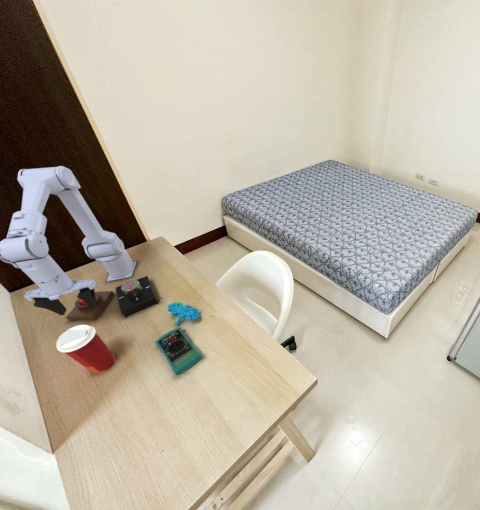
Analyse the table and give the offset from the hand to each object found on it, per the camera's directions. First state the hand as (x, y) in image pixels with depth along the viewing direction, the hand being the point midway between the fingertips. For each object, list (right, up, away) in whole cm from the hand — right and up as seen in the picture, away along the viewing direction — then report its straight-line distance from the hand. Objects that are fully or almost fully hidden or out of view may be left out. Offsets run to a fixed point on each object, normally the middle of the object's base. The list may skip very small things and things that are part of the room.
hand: (79, 309), depth 77 cm
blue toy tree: (+26, -5, +11) cm, 28 cm away
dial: (+5, +3, +15) cm, 16 cm away
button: (-8, +1, +11) cm, 14 cm away
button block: (-8, -2, +13) cm, 16 cm away
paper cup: (+9, -15, -2) cm, 18 cm away
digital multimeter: (+29, -13, +1) cm, 32 cm away
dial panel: (+4, 0, +17) cm, 17 cm away
